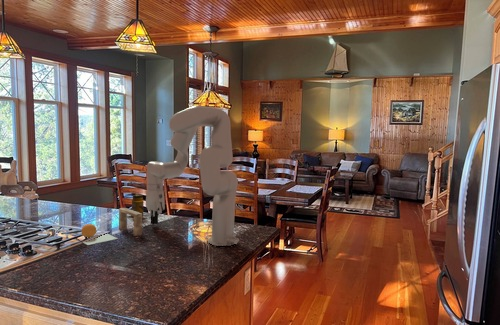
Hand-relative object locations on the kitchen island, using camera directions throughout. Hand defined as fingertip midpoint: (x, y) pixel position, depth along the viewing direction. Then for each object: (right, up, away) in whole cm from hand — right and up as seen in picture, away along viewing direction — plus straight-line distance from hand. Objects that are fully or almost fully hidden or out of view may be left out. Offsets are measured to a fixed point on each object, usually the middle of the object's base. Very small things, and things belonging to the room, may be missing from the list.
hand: (154, 223), depth 175 cm
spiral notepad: (-19, -3, -22) cm, 29 cm away
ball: (-23, 0, -21) cm, 31 cm away
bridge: (-9, -2, -10) cm, 13 cm away
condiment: (-15, 0, +17) cm, 22 cm away
